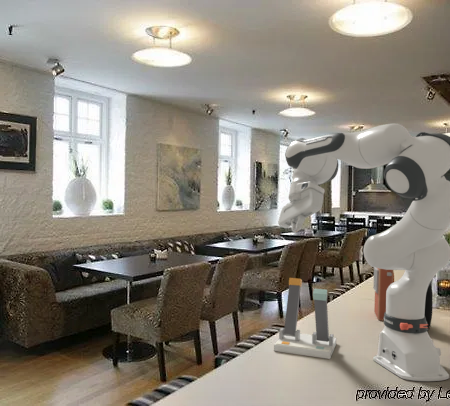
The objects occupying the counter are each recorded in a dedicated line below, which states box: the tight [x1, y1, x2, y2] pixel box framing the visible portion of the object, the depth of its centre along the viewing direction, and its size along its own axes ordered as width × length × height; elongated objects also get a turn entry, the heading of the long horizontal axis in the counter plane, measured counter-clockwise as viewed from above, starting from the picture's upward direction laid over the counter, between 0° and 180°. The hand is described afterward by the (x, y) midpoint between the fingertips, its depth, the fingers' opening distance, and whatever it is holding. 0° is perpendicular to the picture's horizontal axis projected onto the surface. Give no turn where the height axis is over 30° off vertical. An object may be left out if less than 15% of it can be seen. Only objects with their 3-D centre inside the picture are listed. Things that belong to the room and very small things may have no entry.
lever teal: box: [312, 288, 330, 342], centre depth 144 cm, size 2×4×20 cm, turn 69°
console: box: [273, 327, 337, 360], centre depth 150 cm, size 15×18×5 cm
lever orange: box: [283, 277, 303, 337], centre depth 155 cm, size 2×4×20 cm, turn 69°
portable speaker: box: [424, 281, 434, 332], centre depth 170 cm, size 9×9×20 cm
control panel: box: [372, 267, 395, 322], centre depth 188 cm, size 21×7×15 cm
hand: (296, 230), depth 148 cm, fingers closed
